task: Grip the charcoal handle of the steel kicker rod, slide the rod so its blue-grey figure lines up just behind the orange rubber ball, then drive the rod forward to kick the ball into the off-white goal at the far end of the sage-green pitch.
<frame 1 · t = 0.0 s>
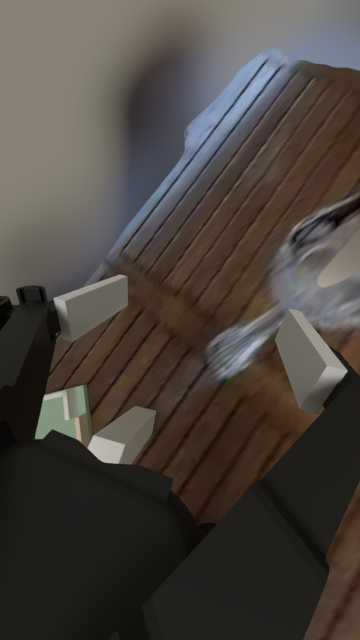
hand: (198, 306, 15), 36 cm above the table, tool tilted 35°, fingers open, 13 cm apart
pitch: (62, 437, 51), on the table
milk: (144, 419, 49), on the table
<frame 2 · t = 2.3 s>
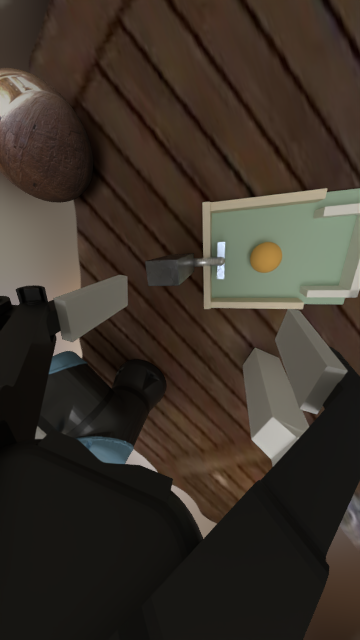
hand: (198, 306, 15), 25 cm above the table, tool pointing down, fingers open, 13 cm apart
pitch: (273, 255, 34), on the table
milk: (259, 361, 44), on the table
kicker rod: (194, 264, 29), point 10 cm above the table, slide at 0.0 cm
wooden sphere: (76, 164, 36), on the table
ball: (265, 257, 31), point 4 cm above the table, touching pitch
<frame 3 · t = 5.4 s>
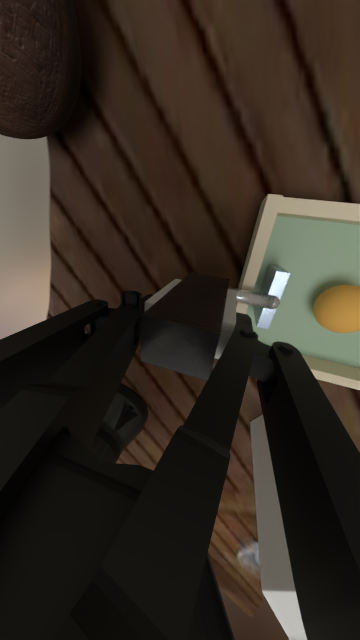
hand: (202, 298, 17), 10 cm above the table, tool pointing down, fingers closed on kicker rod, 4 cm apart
pitch: (344, 300, 22), on the table
milk: (274, 422, 33), on the table
kicker rod: (230, 305, 16), point 10 cm above the table, slide at 0.0 cm, touching gripper
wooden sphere: (56, 76, 21), on the table
ball: (342, 309, 19), point 4 cm above the table, touching pitch
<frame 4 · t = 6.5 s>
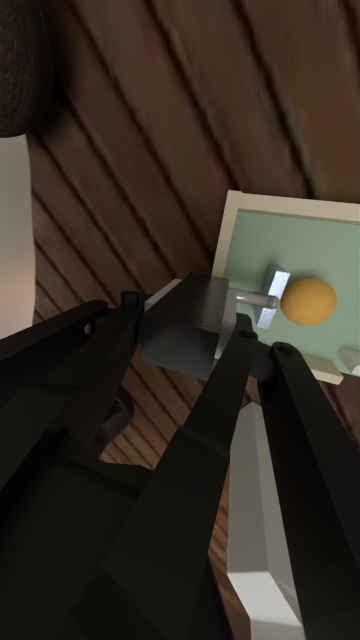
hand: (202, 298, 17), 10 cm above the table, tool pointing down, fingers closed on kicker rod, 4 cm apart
pitch: (313, 295, 23), on the table
milk: (254, 416, 34), on the table
kicker rod: (230, 305, 16), point 10 cm above the table, slide at 3.4 cm, touching gripper
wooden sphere: (32, 77, 21), on the table
ball: (306, 302, 20), point 4 cm above the table, touching pitch
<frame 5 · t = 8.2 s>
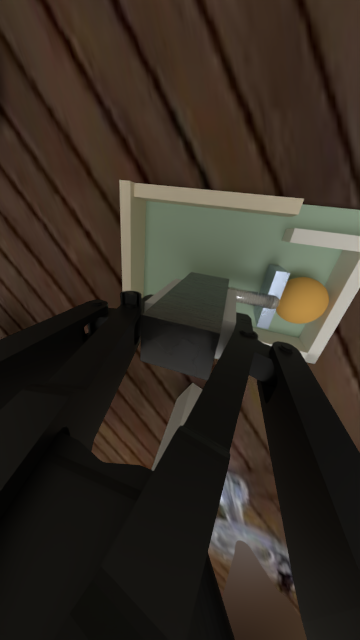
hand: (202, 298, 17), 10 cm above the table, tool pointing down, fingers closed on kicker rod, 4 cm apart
pitch: (225, 278, 25), on the table
milk: (197, 398, 36), on the table
kicker rod: (230, 305, 16), point 10 cm above the table, slide at 14.4 cm, touching gripper
ball: (299, 300, 20), point 4 cm above the table, tilted 129°, touching pitch
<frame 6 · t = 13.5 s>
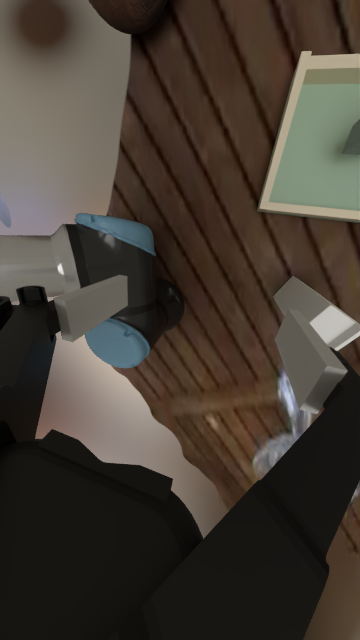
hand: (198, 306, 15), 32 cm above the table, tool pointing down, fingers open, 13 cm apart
pitch: (350, 158, 31), on the table
milk: (292, 293, 42), on the table
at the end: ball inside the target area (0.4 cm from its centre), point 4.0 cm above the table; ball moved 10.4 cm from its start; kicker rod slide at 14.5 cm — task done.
